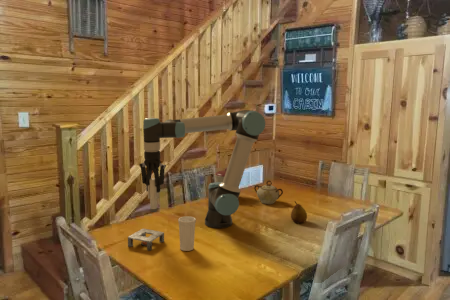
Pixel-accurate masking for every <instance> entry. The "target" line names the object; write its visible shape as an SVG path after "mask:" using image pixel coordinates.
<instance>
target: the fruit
mask: <svg viewBox="0 0 450 300" xmlns="http://www.w3.org/2000/svg"><path fill="white" fill-rule="evenodd" d="M294 203H295V205H294V207H292V209H291V212H290V219H291V220H292V221H293V222H294V223H295V224H303V223H305V222H306V221H307V218H308V213H307V211H306V210H305V208H304V207H303V206H302V205H301V204H300V203H297V202H296V201H294Z"/></svg>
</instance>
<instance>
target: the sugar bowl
mask: <svg viewBox="0 0 450 300" xmlns="http://www.w3.org/2000/svg"><path fill="white" fill-rule="evenodd" d="M253 188H254V191H255V193H256V195H257V198H258V199H259V201H260V203H261V204H263V205H273V204H274V203H275V202H277V200H279V199H280V197H281V196H282V195H283V194H284V191H283V189H282V188H277V186H274V185H273V182H272V181H271V180H267V181H266V183H265V184H264V185H258V184H256V185H255V186H254V187H253Z"/></svg>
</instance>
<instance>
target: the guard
mask: <svg viewBox="0 0 450 300" xmlns="http://www.w3.org/2000/svg"><path fill="white" fill-rule="evenodd" d="M147 234H148V235H149V236H146V235H147ZM158 238H159V243H164V242H165V232H164V231H159V230H154V229H148V228H141V229H139V230H138V231H136V232H134V233H132V234H131V235H129V236H127V247H129V248H131V247H133V246H134V240H135V241H140V242H141V244H140V245H141V246H143V247H146V251H148V252H151V251H152V250H153V241H154V240H155V241H156V239H158ZM142 241H144V242H147V245H144V244H143V243H142Z"/></svg>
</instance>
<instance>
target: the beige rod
mask: <svg viewBox="0 0 450 300" xmlns="http://www.w3.org/2000/svg"><path fill="white" fill-rule="evenodd" d="M155 185H156V183H155V177H154V178H152V177H151V179H150V200H149V204H150V205H149V206H150V207H149V208H150V209H149V210H150V212H151V213H157V212H158V199H155V189H154V186H155Z"/></svg>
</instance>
